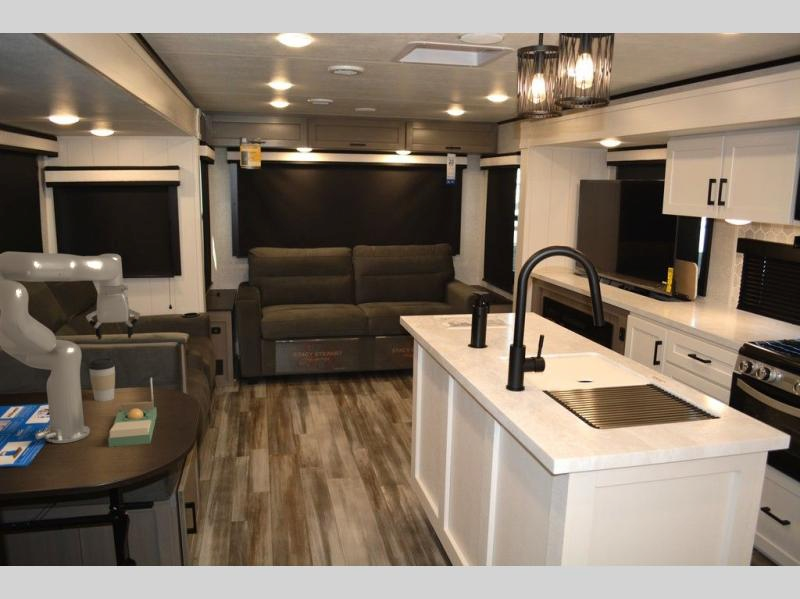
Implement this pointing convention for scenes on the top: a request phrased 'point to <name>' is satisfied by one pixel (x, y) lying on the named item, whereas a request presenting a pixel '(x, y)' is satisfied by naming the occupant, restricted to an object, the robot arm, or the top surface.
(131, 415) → the ball
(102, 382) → the coffee cup
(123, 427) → the putting mat
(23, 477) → the top surface
